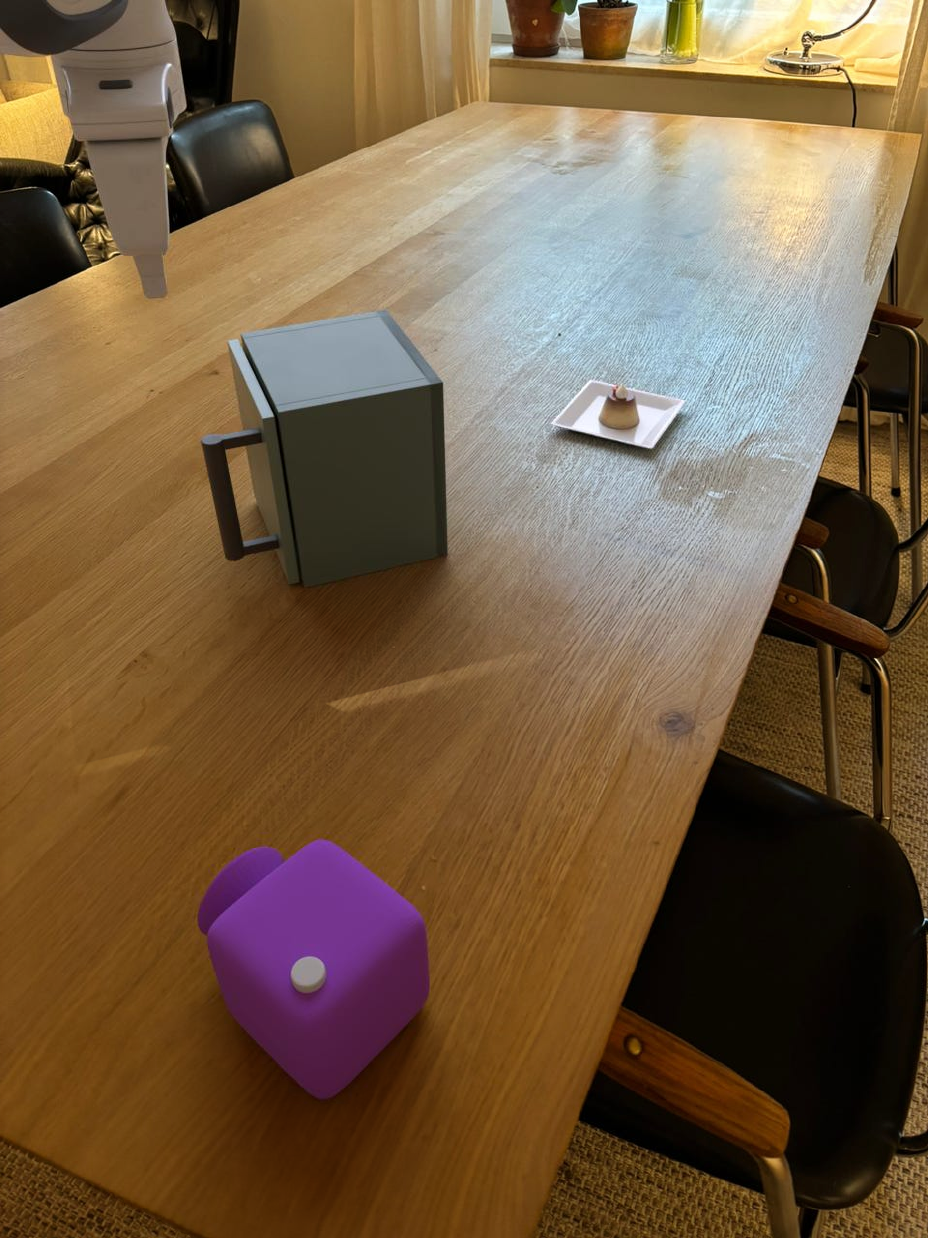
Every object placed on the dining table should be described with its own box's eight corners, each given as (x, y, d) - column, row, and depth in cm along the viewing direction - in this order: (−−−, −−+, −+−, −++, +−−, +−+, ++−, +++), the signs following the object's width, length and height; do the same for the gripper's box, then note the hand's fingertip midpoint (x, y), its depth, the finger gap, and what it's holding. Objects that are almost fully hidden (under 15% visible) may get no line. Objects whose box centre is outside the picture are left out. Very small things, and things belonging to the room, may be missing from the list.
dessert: (589, 387, 120) (592, 350, 117) (685, 409, 116) (691, 371, 113) (549, 432, 112) (551, 393, 109) (651, 457, 108) (656, 418, 104)
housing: (304, 588, 91) (278, 412, 79) (267, 498, 102) (240, 332, 91) (448, 554, 95) (443, 381, 83) (397, 471, 106) (386, 309, 94)
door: (235, 597, 89) (200, 430, 78) (206, 506, 100) (172, 349, 89) (299, 582, 91) (274, 416, 80) (264, 494, 102) (237, 338, 91)
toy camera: (279, 880, 67) (258, 783, 60) (453, 974, 61) (449, 879, 55) (166, 1011, 60) (128, 917, 53) (350, 1131, 54) (332, 1042, 48)
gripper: (83, 58, 80) (120, 233, 88) (66, 120, 64) (112, 325, 73) (164, 55, 81) (192, 229, 89) (167, 115, 65) (200, 318, 74)
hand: (156, 273), depth 81 cm, fingers open, 8 cm apart
